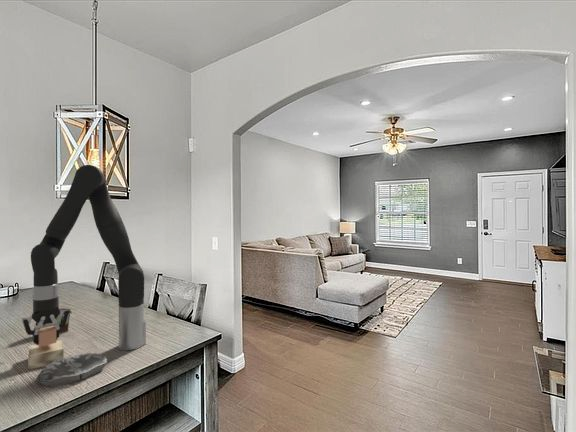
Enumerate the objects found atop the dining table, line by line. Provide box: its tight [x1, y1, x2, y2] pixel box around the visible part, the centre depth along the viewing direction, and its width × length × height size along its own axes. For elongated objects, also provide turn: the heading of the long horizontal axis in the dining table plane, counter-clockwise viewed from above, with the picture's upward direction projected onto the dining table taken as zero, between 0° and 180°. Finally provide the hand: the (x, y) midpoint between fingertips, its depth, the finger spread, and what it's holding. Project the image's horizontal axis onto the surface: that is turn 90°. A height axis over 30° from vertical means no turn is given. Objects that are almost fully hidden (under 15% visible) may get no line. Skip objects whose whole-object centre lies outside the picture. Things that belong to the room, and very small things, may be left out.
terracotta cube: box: [38, 326, 56, 347], centre depth 116 cm, size 5×5×5 cm
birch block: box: [27, 338, 65, 370], centre depth 116 cm, size 10×10×5 cm
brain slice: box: [37, 352, 108, 388], centre depth 107 cm, size 20×17×3 cm
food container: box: [41, 307, 72, 335], centre depth 139 cm, size 12×6×10 cm, turn 141°
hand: (46, 341), depth 116 cm, fingers closed on terracotta cube, 5 cm apart
